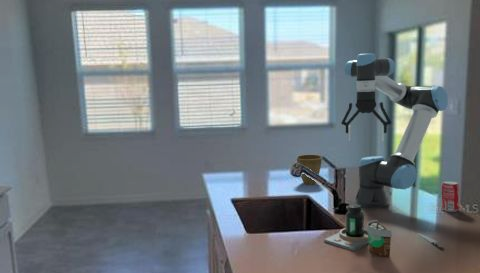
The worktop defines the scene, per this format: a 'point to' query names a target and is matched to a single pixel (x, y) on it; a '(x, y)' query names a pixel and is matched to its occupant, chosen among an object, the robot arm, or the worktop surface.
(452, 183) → the soda can
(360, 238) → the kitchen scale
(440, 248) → the chef's knife
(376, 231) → the food container
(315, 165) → the plant pot
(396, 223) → the worktop surface
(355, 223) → the supplement bottle
